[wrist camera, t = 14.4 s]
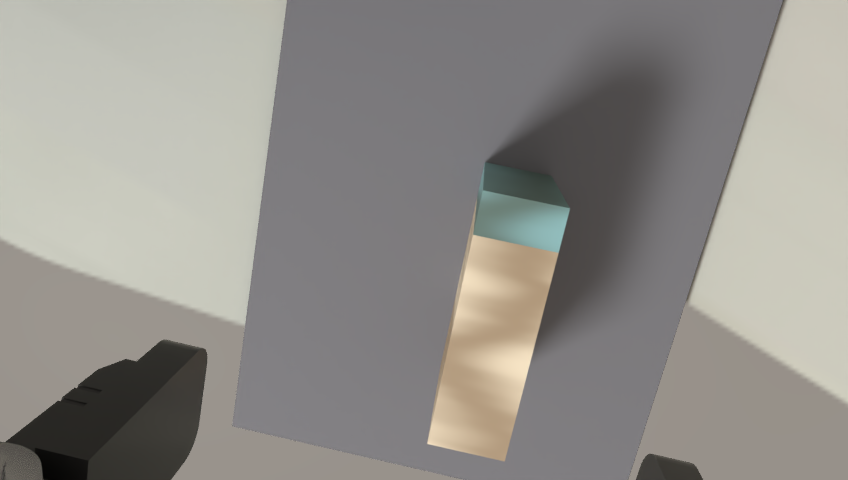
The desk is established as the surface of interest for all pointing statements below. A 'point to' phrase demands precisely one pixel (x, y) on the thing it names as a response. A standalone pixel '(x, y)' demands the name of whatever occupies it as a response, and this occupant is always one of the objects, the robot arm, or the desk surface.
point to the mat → (455, 203)
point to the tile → (497, 310)
